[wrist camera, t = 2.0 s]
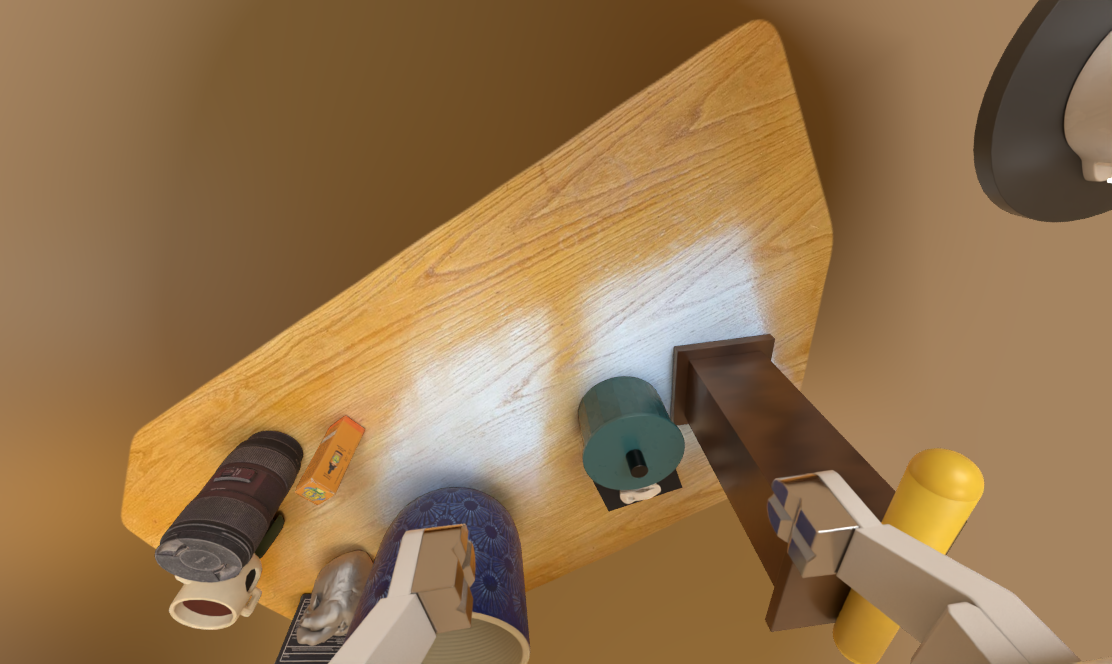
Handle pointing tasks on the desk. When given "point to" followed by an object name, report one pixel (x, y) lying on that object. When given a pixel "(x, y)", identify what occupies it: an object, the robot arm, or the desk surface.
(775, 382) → the stand
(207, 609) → the character mug
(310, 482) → the supplement box
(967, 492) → the yellow rounded rod
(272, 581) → the desk surface
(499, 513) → the planter
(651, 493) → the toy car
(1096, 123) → the robot arm
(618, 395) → the pot
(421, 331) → the desk surface
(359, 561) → the heart
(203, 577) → the camera lens
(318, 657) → the small box
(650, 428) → the pot lid
